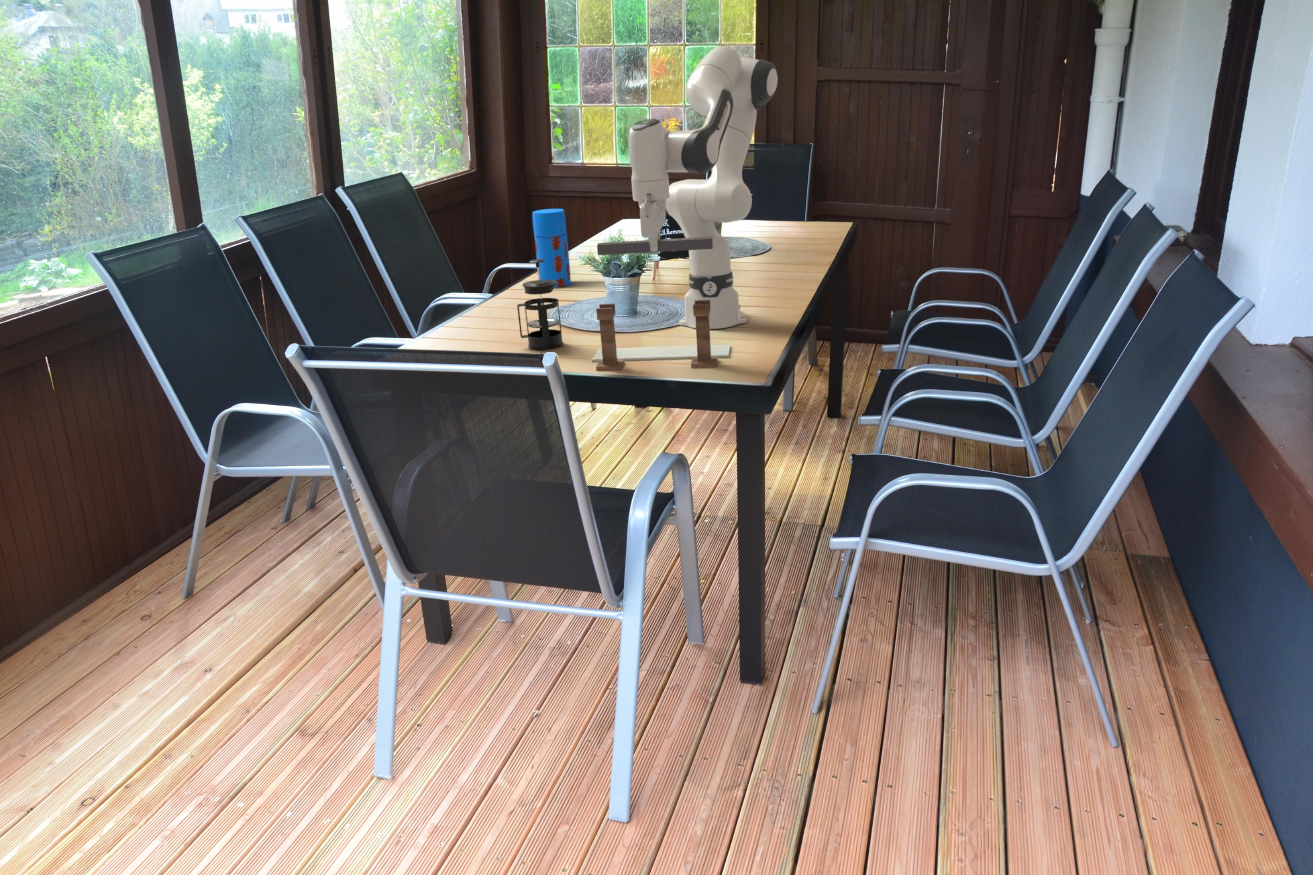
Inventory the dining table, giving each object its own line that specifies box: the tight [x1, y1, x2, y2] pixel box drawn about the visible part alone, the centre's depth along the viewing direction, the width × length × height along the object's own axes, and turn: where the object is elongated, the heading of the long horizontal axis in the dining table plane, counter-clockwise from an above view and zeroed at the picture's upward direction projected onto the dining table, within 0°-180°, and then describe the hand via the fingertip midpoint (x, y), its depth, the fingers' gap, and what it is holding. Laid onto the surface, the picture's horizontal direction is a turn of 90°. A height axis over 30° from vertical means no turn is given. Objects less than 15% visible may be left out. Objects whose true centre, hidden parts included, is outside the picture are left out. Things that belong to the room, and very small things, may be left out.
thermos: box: [532, 208, 572, 289], centre depth 344 cm, size 11×11×25 cm
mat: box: [591, 344, 731, 363], centre depth 256 cm, size 10×34×1 cm, turn 83°
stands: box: [595, 300, 719, 371], centre depth 244 cm, size 6×29×15 cm, turn 83°
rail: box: [596, 237, 713, 256], centre depth 247 cm, size 2×28×2 cm, turn 84°
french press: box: [516, 258, 564, 351], centre depth 268 cm, size 12×9×23 cm
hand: (655, 249), depth 247 cm, fingers closed on rail, 2 cm apart
